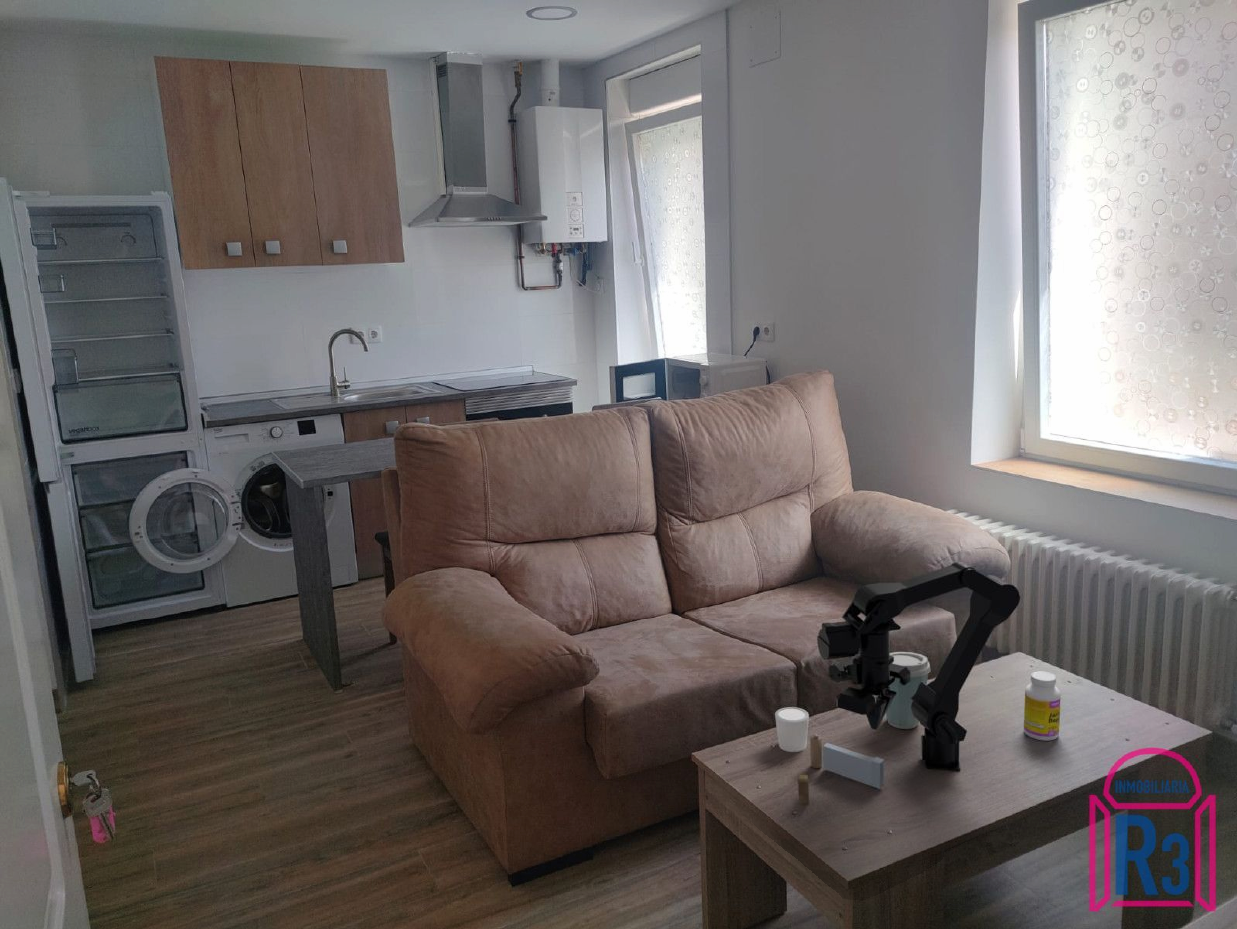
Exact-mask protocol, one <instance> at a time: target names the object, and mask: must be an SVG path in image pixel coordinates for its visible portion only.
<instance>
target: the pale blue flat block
mask: <svg viewBox="0 0 1237 929" xmlns="http://www.w3.org/2000/svg"><path fill="white" fill-rule="evenodd" d="M822 740H823V739H822V736H820V735H819V734H817V733H814V734H813V735H811V736H810V738H809V742H810V745H809V746H810V749H809V750H810V752H809V753H810V766H811V767H812V768H814V769H820V768H821V767H822V768H823V769H824V770H827V771H828V772H829V771H830V772H833V773H834V774H835V773H836V774H837V775H841V776H844V777H847V778H849V779H851V780H855V781H858V782H861V783H863V784H865V785H866V784H867V785H869V786H871V787H872V788H873V787H874V788H876V789H881V788H882V787H883V786H884V785H885V759H884V758H881V757H878V756H875V757H874V758H873V757H871V756H868V755H865V754H861V753H859V752H856V751H852V750H849V749H846V748H844V747H840V746H838V745H835V744H831V743H829V742H826V743H825V744H823V743H822V742H823V741H822Z"/></svg>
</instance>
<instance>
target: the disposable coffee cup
mask: <svg viewBox="0 0 1237 929" xmlns="http://www.w3.org/2000/svg"><path fill="white" fill-rule="evenodd" d="M890 656H893V657H894V662H893V664H897V665H901V666H905V667H907V669H908V670H909V671H910V682H908V683H907V684H906V685H905V686H904V685H901V683H900V679H898V678H896V680H895V681H894V682H893V683H892V684H890V685H889V686H888V687H890V690H892V691H895V692H896V693H897V694H896V696H895V697H894V699H893V700H892V702H891V704H890V706H889V708H888V710H887V712H886V713H885V717H886V720H887V722H888V724H889V725H890V726H891V727H894V728H896V729H903V730H910V729H914V728H916V727H917V726H918V725H919V724H920V721H919V720H918V719H917V718H915V716H914V715H913V713H912V709H911V704H912V702H913V700H912V699H911V697H913V696H914V694H915V693H916V691H917V689H918V686H919V684H920V683H921V682H923V683H924V684H926V685H927V684H928V678H929V677H928V676H929V673H930V672H931V666H930V662H929V661H928V657H927V656H925V655H923V654H921V653H916V652H911V651H910V652H909V651H908V652H907V651H895V652H890Z"/></svg>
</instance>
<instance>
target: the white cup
mask: <svg viewBox="0 0 1237 929" xmlns="http://www.w3.org/2000/svg"><path fill="white" fill-rule="evenodd" d="M774 716H775V717H774V718H775V725H776V733H777V741H778V746H779V748H780V749H781V750H783V751H785V752H789V753H798V752H803V751H804V750H805V749H806V747H807V744H808V743H807V742H808V730H809V719H810V714H809V712H808V711H807V710H805V709H804V708H800V707H794V706H791V707H789V706H788V707H782V708H779V709H778V710H776V711H775V713H774Z"/></svg>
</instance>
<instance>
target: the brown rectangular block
mask: <svg viewBox="0 0 1237 929" xmlns="http://www.w3.org/2000/svg"><path fill="white" fill-rule="evenodd" d="M809 781H810V780H809V777H808V774H799V777H798V784H797V785H798V805H810V789H809V788H810V784H809V783H810V782H809Z"/></svg>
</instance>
